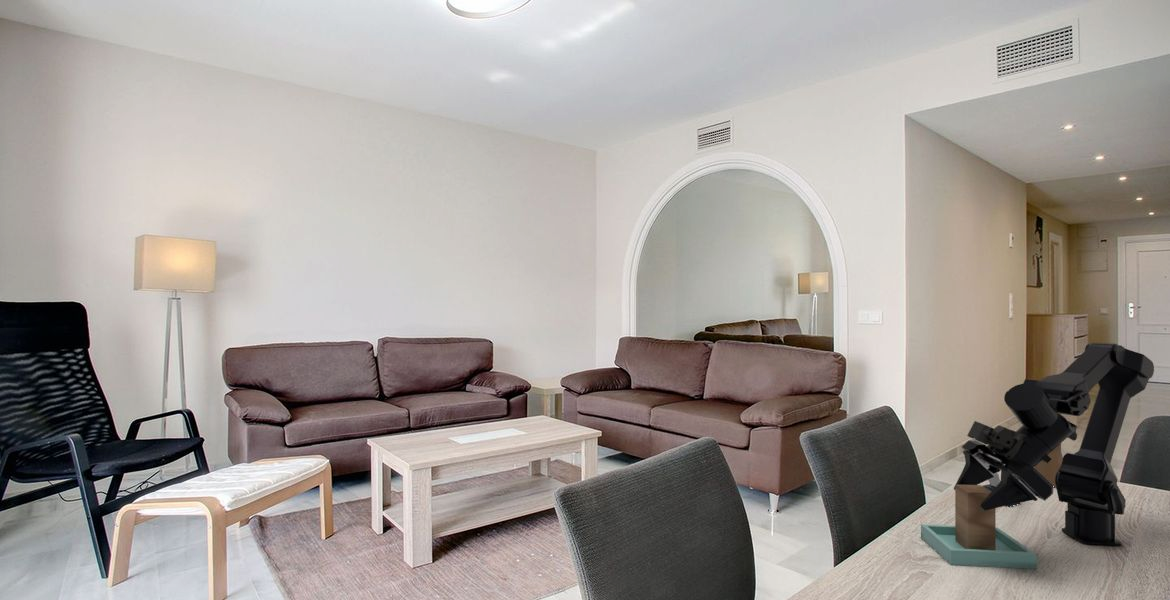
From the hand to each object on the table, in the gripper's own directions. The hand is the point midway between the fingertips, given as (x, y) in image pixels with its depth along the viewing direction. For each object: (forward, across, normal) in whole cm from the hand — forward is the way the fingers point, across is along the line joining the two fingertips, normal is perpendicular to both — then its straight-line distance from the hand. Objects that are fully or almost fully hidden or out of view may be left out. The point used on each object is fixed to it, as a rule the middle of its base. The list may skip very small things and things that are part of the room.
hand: (968, 499), depth 105 cm
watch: (-8, -29, +22) cm, 37 cm away
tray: (+6, 0, +8) cm, 10 cm away
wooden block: (-22, -42, +36) cm, 59 cm away
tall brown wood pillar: (+5, 0, +7) cm, 9 cm away
